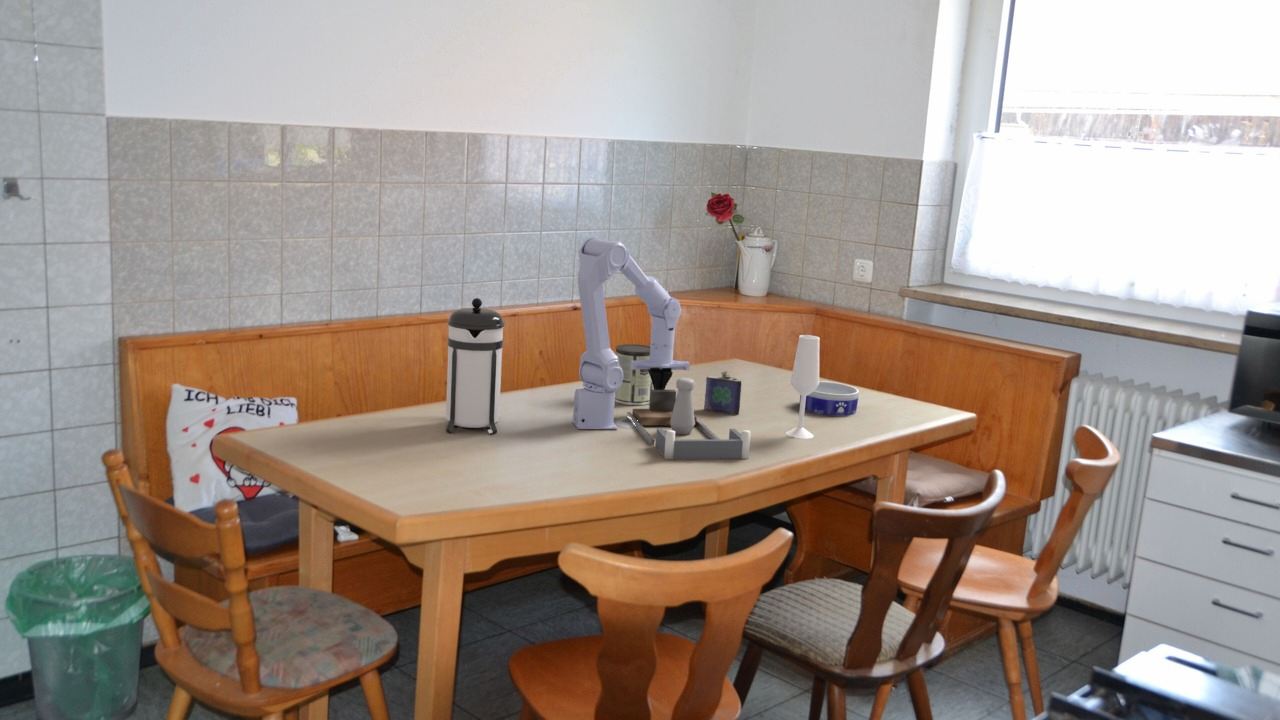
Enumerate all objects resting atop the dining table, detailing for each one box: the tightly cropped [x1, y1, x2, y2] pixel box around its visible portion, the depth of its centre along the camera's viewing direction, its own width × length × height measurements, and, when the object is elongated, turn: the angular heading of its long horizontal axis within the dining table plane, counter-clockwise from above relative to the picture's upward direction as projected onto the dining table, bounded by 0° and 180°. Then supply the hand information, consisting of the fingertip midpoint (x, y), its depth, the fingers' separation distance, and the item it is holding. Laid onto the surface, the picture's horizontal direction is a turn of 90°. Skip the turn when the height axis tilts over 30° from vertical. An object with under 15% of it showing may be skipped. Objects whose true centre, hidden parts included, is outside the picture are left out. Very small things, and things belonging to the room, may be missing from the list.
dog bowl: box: [799, 380, 860, 417], centre depth 292 cm, size 15×15×6 cm
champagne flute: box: [785, 334, 821, 440], centre depth 262 cm, size 7×7×24 cm
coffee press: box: [445, 297, 506, 436], centre depth 249 cm, size 17×16×30 cm
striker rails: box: [626, 411, 720, 446], centre depth 260 cm, size 16×24×1 cm
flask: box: [703, 370, 742, 416], centre depth 280 cm, size 9×3×11 cm, turn 71°
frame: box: [655, 428, 751, 460], centre depth 244 cm, size 19×10×6 cm, turn 104°
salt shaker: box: [669, 377, 696, 436], centre depth 258 cm, size 6×6×13 cm
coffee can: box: [615, 343, 654, 406], centre depth 285 cm, size 10×10×14 cm
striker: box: [631, 388, 698, 426], centre depth 267 cm, size 14×8×7 cm, turn 104°
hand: (658, 397), depth 273 cm, fingers closed
